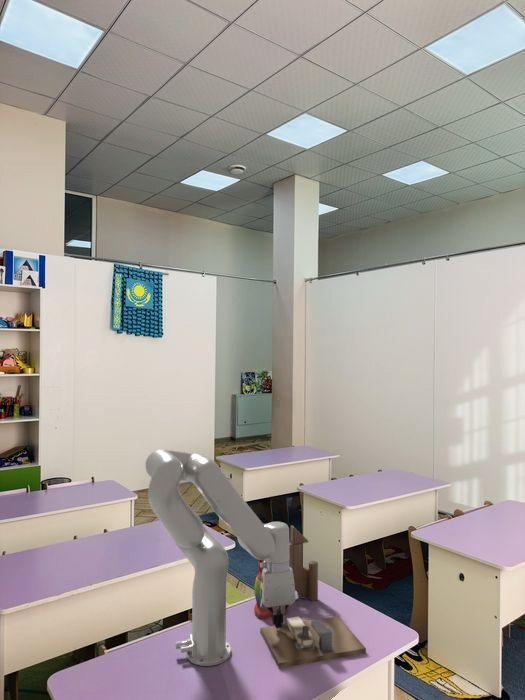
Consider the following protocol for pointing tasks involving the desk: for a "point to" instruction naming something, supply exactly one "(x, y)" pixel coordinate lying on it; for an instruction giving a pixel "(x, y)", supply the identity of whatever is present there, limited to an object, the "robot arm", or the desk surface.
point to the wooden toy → (302, 568)
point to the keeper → (323, 636)
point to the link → (301, 632)
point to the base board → (293, 655)
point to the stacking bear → (258, 611)
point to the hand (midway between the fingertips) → (277, 625)
